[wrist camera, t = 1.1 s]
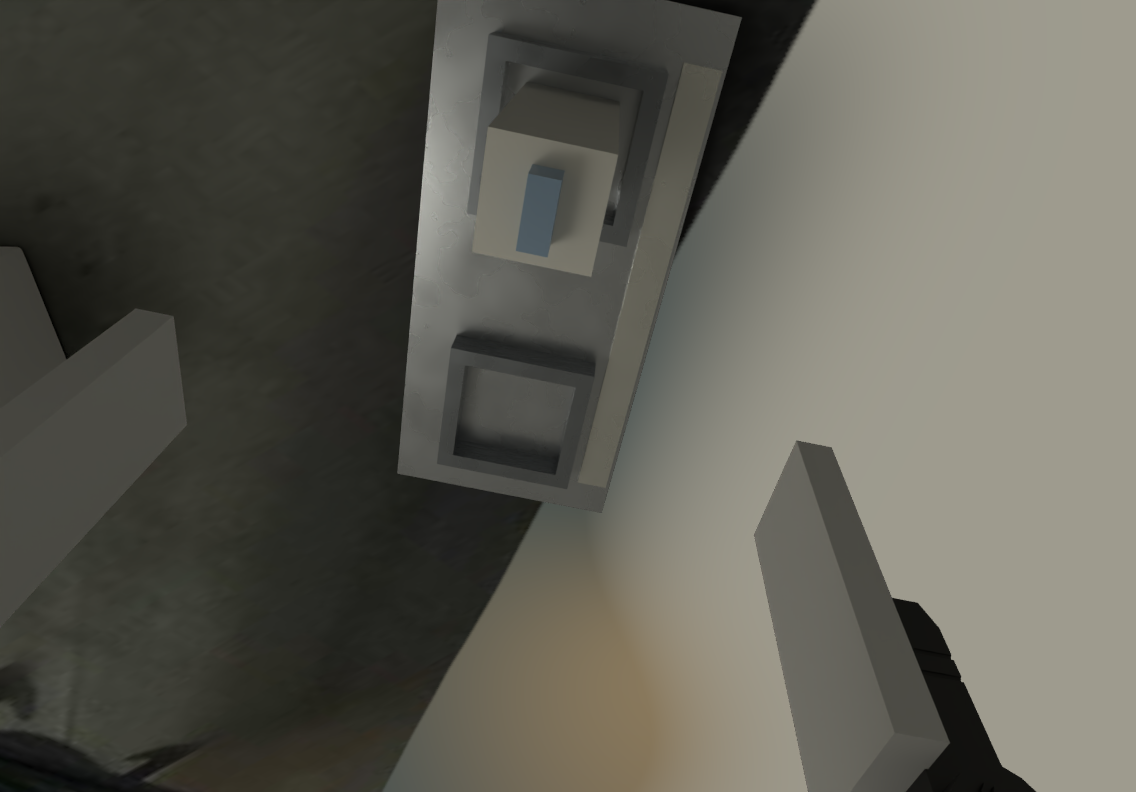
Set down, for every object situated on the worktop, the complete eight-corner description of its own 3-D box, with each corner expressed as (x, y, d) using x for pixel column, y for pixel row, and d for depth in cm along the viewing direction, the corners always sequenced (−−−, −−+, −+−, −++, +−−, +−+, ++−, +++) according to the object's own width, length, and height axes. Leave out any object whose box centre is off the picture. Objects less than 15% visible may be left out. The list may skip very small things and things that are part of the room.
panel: (447, -50, 29) (433, -51, 27) (738, 16, 29) (747, 19, 27) (402, 462, 42) (390, 489, 40) (602, 501, 43) (601, 530, 40)
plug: (526, 81, 30) (481, 134, 20) (620, 102, 30) (617, 163, 21) (512, 176, 32) (464, 265, 22) (599, 195, 32) (589, 290, 23)
